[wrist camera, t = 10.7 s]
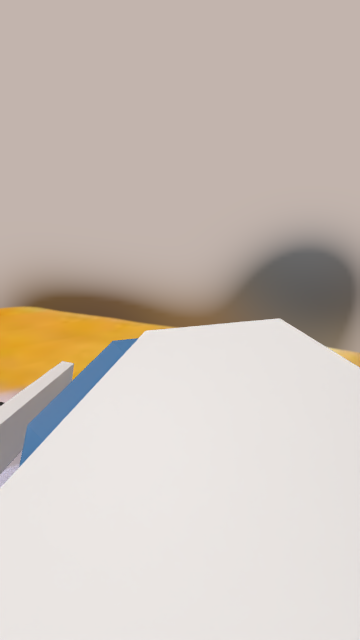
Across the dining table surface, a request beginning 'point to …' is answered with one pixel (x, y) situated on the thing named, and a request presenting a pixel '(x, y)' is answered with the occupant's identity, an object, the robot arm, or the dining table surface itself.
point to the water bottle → (190, 494)
